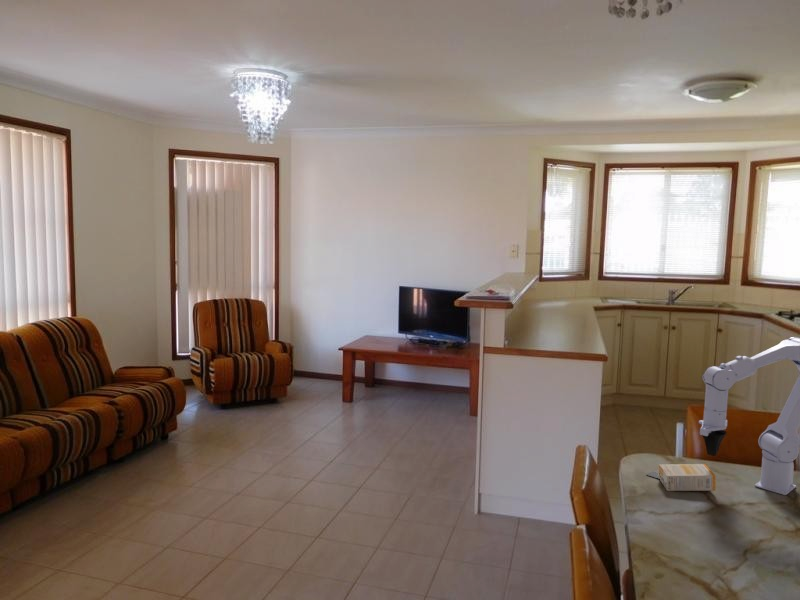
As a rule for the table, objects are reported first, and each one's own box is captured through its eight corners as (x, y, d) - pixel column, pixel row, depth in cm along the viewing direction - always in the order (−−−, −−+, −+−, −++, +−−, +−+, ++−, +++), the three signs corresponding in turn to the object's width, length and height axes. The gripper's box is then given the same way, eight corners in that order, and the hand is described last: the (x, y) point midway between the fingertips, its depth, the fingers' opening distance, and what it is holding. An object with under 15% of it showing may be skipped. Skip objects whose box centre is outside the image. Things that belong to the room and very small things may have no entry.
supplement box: (705, 479, 173) (658, 479, 176) (705, 463, 173) (658, 463, 175) (715, 491, 165) (666, 491, 167) (715, 475, 165) (666, 475, 167)
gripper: (711, 401, 177) (707, 445, 178) (690, 410, 167) (686, 456, 169) (736, 407, 171) (732, 452, 173) (716, 416, 162) (712, 463, 163)
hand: (711, 454), depth 170 cm, fingers closed
